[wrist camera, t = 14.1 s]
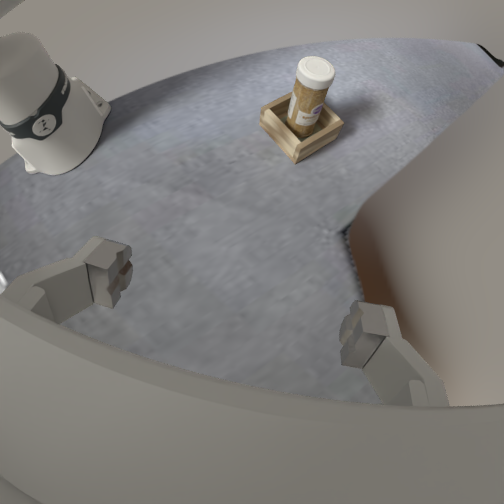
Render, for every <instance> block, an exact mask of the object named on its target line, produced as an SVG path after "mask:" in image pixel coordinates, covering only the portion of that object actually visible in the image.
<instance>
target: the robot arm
mask: <svg viewBox="0 0 504 504" xmlns="http://www.w3.org/2000/svg"><path fill="white" fill-rule="evenodd" d="M23 1H25V0H0V19H1V18H2V17H3V16H4V15H6V14H7V13H8V12H9V11H11V10H12V9H14V8H15V7H16V6H18V5H19V4H21V3H22V2H23ZM100 106H101V107H100ZM110 110H111V106H110V105H109V104H108V103H107V102H106V101H105V100H104V99H102V98H101V97H100V96H99V95H98V94H96V93H95V92H94V91H93V90H92V89H90V88H89V87H88V86H87V85H85V84H84V83H83V82H82V81H80V80H79V79H78V78H76V77H73V78H69V77H68V76H66V74H65V72H64V71H63V69H61V68H60V67H59V66H58V65H57V64H54V62H53V61H52V59H51V58H50V56H49V55H48V53H47V51H46V50H45V48H44V47H43V45H42V43H41V42H40V40H39V39H38V38H37V37H36V36H34V35H33V34H30V33H25V32H17V33H12V34H9V35H6V36H3V37H0V125H1V126H2V127H3V128H4V130H5V131H6V132H7V133H8V134H10V135H11V136H12V147H13V148H14V149H15V150H16V151H17V152H18V153H19V154H20V155H21V156H22V157H23V158H24V159H25V169H26V171H27V172H28V173H29V174H34V173H38V172H42V173H45V174H49V175H58V174H62V173H65V172H68V171H70V170H71V169H73V168H75V167H76V166H77V165H79V164H80V163H81V162H82V161H83V160H84V159H85V158H86V157H87V156H88V155H89V154H90V153H91V151H92V150H93V149H94V147H95V145H96V144H97V142H98V140H99V137H100V134H101V131H102V126H103V122H104V120H105V119H106V117H107V116H108V114H109V112H110ZM131 256H132V250H131V247H130V246H129V245H126V244H123V243H119V242H116V241H113V240H109V239H105V238H102V237H98V236H94V237H92V238H91V239H90V240H89V241H88V242H87V243H86V244H85V245H84V246H83V247H82V248H81V249H80V250H79V251H78V252H77V253H76V254H75V255H74V256H73V257H72V258H71V259H70V258H66V259H63V260H61V261H58V262H55V263H52V264H50V265H47V266H44V267H42V268H39V269H36V270H34V271H31V272H28V273H26V274H23V275H20V276H18V277H17V278H16V279H15V280H14V281H13V282H12V283H11V284H10V285H9V286H8V287H7V288H6V289H5V291H4V292H3V293H2V294H1V295H0V504H504V404H496V405H483V406H482V405H481V406H457V407H455V406H453V407H449V402H448V399H447V394H446V390H445V387H444V383H443V381H442V380H441V379H440V377H439V376H438V375H437V374H436V373H435V372H434V371H433V369H432V368H431V367H430V366H429V365H428V364H427V363H426V362H425V360H424V359H423V358H422V357H421V356H420V355H419V354H418V353H417V352H416V350H415V349H414V348H413V347H412V346H411V345H410V344H409V343H408V342H407V341H406V340H404V339H402V336H401V332H400V329H399V325H398V322H397V319H396V315H395V311H394V309H393V308H392V307H389V306H384V305H377V304H372V303H367V302H362V301H358V300H355V301H354V302H353V303H352V305H351V306H350V314H349V315H347V316H345V318H344V320H343V322H342V324H341V328H340V333H339V340H340V342H341V344H342V345H343V347H342V349H341V350H340V353H341V365H343V366H349V367H354V368H360V369H362V371H363V372H364V374H365V375H366V377H367V379H368V380H369V382H370V384H371V385H372V387H373V389H374V390H375V392H376V393H377V395H378V397H379V398H380V400H381V402H382V403H383V405H381V404H369V403H358V402H348V401H339V400H331V399H324V398H316V397H310V396H303V395H297V394H291V393H285V392H279V391H274V390H269V389H264V388H259V387H254V386H249V385H245V384H240V383H236V382H231V381H227V380H223V379H219V378H215V377H211V376H207V375H203V374H199V373H196V372H192V371H188V370H185V369H181V368H178V367H174V366H171V365H168V364H165V363H161V362H158V361H155V360H152V359H149V358H146V357H143V356H140V355H137V354H134V353H131V352H128V351H125V350H122V349H120V348H117V347H114V346H111V345H109V344H106V343H103V342H101V341H98V340H96V339H93V338H91V337H88V336H86V335H83V334H81V333H78V332H76V331H73V330H71V329H69V328H66V327H64V326H62V325H60V324H61V323H62V322H64V321H66V320H67V319H69V318H71V317H72V316H74V315H76V314H77V313H79V312H81V311H82V310H84V309H86V308H87V307H89V306H91V305H93V303H96V304H99V305H102V306H105V307H108V308H111V309H113V308H114V307H115V305H116V304H117V302H118V301H119V299H120V298H121V293H120V292H121V291H123V290H125V289H127V287H128V286H129V284H130V281H131V278H132V273H133V265H132V264H131V262H130V261H129V259H130V257H131Z"/></svg>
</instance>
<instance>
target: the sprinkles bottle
mask: <svg viewBox="0 0 504 504" xmlns="http://www.w3.org/2000/svg"><path fill="white" fill-rule="evenodd" d="M334 77H335V69H334V67H333V65H332V64H331V63H330V62H329V61H327V60H325V59H323V58H320V57H316V56H308V57H304V58H303V59H301V60H300V61H299V63H298V67H297V71H296V81H295V85H294V88H293V92H292V96H291V100H290V105H289V109H288V116H287V119H286V121H285V126H286V127H287V128H288V129H289V130H290V131H291V132H292V133H293V134H294V135H295V136H296V137H298V138H299V137H300V138H304V137H307V136H310V135H311V134H312V133H313V131H314V126H315V123H316V121H317V119H318V117H319V114H320V111H321V109H322V106H323V102H324V100H325V97H326V94H327V91H328V89H329V87H330V86H331V84H332V82H333V80H334Z"/></svg>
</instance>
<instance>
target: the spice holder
mask: <svg viewBox="0 0 504 504" xmlns="http://www.w3.org/2000/svg"><path fill="white" fill-rule="evenodd" d="M291 96H292V92H290V93H288V94H286V95H284V96H282V97H280V98H278V99H277V100H275V101H273V102H271V103H269V104H267V105H265V106H263V107H261V114H260V124H259V125H260V126H261V127H262V128H263V129H264V130H265V131H266V132H267V133H268V134H269V136H270V137H271V138H272V139H273V140H274V141H275V142H276V143H277V144H278V145H279V147H280V148H281V149H282V150H283V151H284V152H285V153H286V154H287V156H288V157H289V158H290V159H291V160H292V161H293V162H294V164H296V163H298V162H299V161H301V160H303V159H304V158H306V157H307V156H309V155H310V154H312V153H314V152H315V151H317V150H318V149H320V148H322V147H323V146H325V145H326V144H328V143H330V142H331V141H333V140H334V139H336V138H337V136H338V134H339V132H340V130H341V128H342V126H343V125H344V122H343V121H342V120H341V119H340V118H339V117H338V116H337V115H336V114H335V113H334V112H333V111H332V110H331V109H330V108H329V107H328V106H327V105H326V104H325V103H324V102H323V106H322V109H321V111H320V114H319V117H318V119H317V121H316V123H315V126H314V131H313V133H312V134H311V135H310V136H307V137H304V138H300V137H299V138H298V137H296V136H295V135H294V134H293V133H292V132H291V131H290V130H289V129H288V128H287V127H286V126H285V121H286V119H287V116H288V109H289V105H290V100H291Z"/></svg>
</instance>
